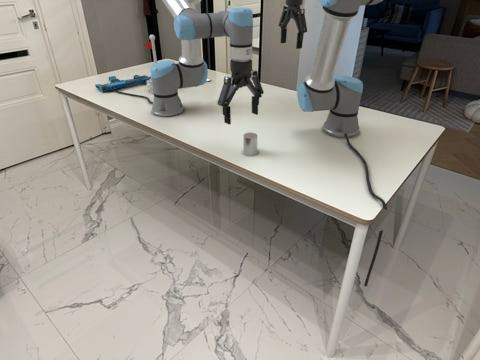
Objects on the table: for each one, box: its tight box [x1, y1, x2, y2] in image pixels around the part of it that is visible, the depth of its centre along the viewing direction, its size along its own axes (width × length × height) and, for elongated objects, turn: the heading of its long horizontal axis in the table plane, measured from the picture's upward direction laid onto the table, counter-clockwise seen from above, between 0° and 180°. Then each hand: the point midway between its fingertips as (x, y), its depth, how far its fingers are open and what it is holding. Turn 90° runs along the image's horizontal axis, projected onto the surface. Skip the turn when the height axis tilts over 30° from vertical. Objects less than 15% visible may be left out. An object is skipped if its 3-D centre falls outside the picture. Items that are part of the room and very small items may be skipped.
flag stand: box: [143, 34, 158, 94], centre depth 188 cm, size 13×13×30 cm
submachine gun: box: [94, 74, 151, 92], centre depth 206 cm, size 34×4×25 cm
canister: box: [242, 132, 258, 157], centre depth 131 cm, size 5×5×7 cm
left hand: (241, 118), depth 126 cm, fingers open, 13 cm apart
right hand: (290, 45), depth 161 cm, fingers open, 13 cm apart
